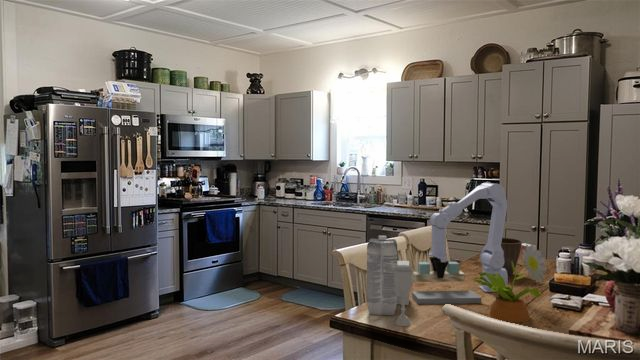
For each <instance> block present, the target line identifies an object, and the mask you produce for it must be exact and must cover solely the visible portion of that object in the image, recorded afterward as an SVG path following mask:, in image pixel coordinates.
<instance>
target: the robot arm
mask: <svg viewBox="0 0 640 360" xmlns="http://www.w3.org/2000/svg"><path fill="white" fill-rule="evenodd" d="M480 199H481V200H482V199H485V200H487V201H488V202H489V203H490V204H491V206H492V210H491V216H490V224H489V227H488V228H489V230H488V237H487V242H486V244H485V245H484V246H483V248H482V251H481V252H480V255H479V261H480V263H481V264H482V273H483V272H486V273H490V274H492V275H493V274H497V273H498V274H499V275H500V276H501V277H502V278H503V279H504V281H505V284H506V287H509V286H508V285H509V284H508V282H509V281H508V279H509V278H508V277H509V276H508V274H507V271H506V269H505V268H502V267H503V265H504V257H503V254H504V252H503V250H502V248H501V242H502V238H503V234H504V229H505V222H506V216H507V210H508V199H507V197H506V189H505V188H504V187H503V185H501V184H499V183H492V182H491V183H490V182H483V183H481V184H480V185H477V186H476V187H475V188H474V189H473V190H472V191H470V192H469V193H468V194H466V195H465V196H463V198H461V199H460V200H459V201H457V202H456V201H450V202H448V203H447V205H446V206H445V207H443V208H442V209H441V208H440V209H439V210H438V212H434V213H432V214H431V216H430V217H429V219H428V222H429V225H430V226H431V252H429V253H428V256H429V257H428V258H429V261H430V263H431V268H432V271H437V277H438V278H443V277H444V273H445V271H446V267H447V265H448V263H449V262H450V261H448V260H447V227H448V226H449V224H450V222H451V221H453V220H455V219H456V218H457V217H458V216H460V215H462V213H463V210H464V209H465V208H466V207H469V206H470V205H471V204H473V203H474V202H476V201H478V200H480ZM483 277H484V278H485V279H486V280H487V281H489V279H488V277H487V276H486V275H484V276H483ZM494 277H496V276H494ZM496 279H497V278H496ZM482 281H483V282H484V280H482ZM485 282H486V281H485ZM489 282H490V281H489ZM486 283H487V282H486ZM490 283H491V282H490ZM489 285H490V284H489ZM478 288H480V289H481V290H482V291H483V292H486V293H491V292H492V291H491V288H489V287H488V286H487V285H482V284H481V285H478ZM492 293H493V292H492Z"/></svg>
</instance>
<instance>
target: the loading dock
mask: <svg viewBox="0 0 640 360" xmlns="http://www.w3.org/2000/svg"><path fill="white" fill-rule="evenodd" d="M411 297H412V298H413V300H414V301H415V302H416V303H417V304H418V305H425V304H426V305H428V304H429V305H431V304H432V305H433V304H434V305H436V304H437V305H438V304H439V305H442V304H444V305H445V304H449V305H450V304H482V297H481V296H480V295H478V293H476V292H475V291H473V290H429V291H427V290H426V291H425V290H424V291H423V290H421V291H419V290H417V291H416V290H415V291H412V290H411Z"/></svg>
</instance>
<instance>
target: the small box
mask: <svg viewBox="0 0 640 360" xmlns="http://www.w3.org/2000/svg"><path fill="white" fill-rule="evenodd" d="M526 245H528V247H529V249H530V246H531V244H529V243H526V242H525V243H524V242H523V243H522V245H521V250H520V255H519V258H518V262H517V265H519V266H522V267H523V266H525V267H526V264H525V261H524V260H523V258H524V253H523V251H522V250H523V249H524V250H525V251H526ZM536 249H537V245H534V252H535V250H536ZM525 267H524V268H525Z"/></svg>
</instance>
